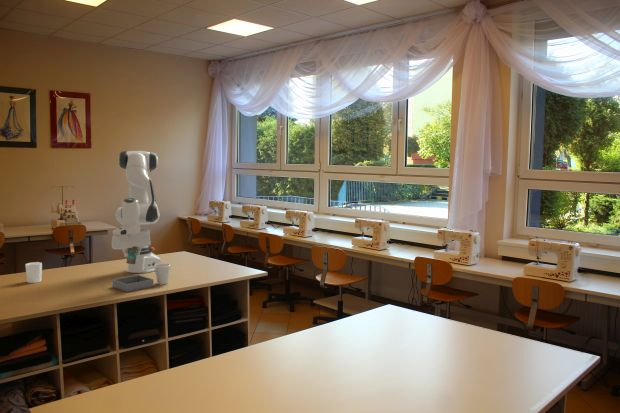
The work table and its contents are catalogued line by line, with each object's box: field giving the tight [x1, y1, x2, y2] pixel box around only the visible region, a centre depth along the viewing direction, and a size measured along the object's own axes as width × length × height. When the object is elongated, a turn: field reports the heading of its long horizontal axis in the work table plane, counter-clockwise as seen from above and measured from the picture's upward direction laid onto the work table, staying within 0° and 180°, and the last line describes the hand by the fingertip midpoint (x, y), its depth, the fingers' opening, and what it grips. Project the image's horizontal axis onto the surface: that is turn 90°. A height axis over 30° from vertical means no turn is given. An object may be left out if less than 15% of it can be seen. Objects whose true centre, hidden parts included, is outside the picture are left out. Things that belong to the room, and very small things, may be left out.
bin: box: [111, 274, 154, 293], centre depth 261 cm, size 15×15×4 cm
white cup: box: [24, 261, 43, 284], centre depth 272 cm, size 8×8×10 cm
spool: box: [126, 247, 137, 265], centre depth 260 cm, size 4×4×9 cm
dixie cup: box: [154, 263, 171, 285], centre depth 269 cm, size 8×8×10 cm
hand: (132, 256), depth 260 cm, fingers closed on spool, 5 cm apart
